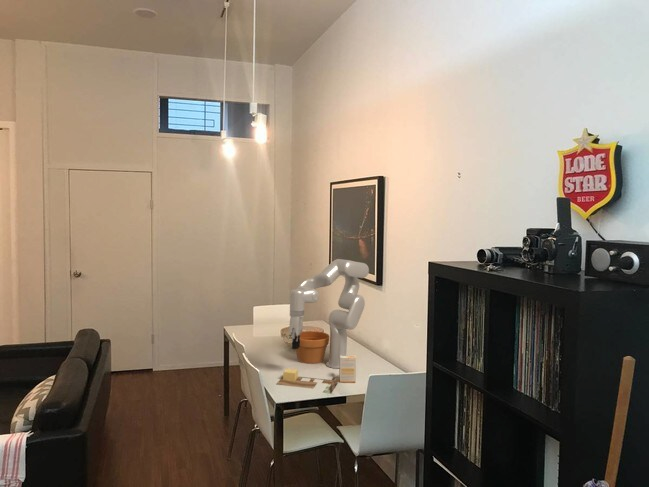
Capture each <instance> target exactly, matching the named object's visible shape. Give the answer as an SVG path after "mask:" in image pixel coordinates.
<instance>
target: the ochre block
mask: <svg viewBox="0 0 649 487" xmlns="http://www.w3.org/2000/svg"><path fill="white" fill-rule="evenodd" d="M282 373H283V374H282V377H283V380H289V381H295V380H296V379H297V378H298V377H299V369H296V368H295V369H293V368H286V369H285V370H284V371H283V372H282Z"/></svg>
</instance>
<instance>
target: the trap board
mask: <svg viewBox="0 0 649 487" xmlns="http://www.w3.org/2000/svg"><path fill="white" fill-rule="evenodd" d="M303 378H304V379H308V377H305V376H298V378H297V379H296V380H295V381H289V380H283V376H282V377H281V378H280V379H279V380H278V381H277V382H276V383H275V385H277V386H285V387H286V386H287V387H295V388H305V389H312V390H313V389H314V388H316V386H317V384H318V382H316V381H315V380H318V378H316V377H315V378H314V377H309V379H310V380H309V381H307V380H302V379H303ZM319 380H322V382H321V384H327V386H325V388H324V390H323V391H322V394H323V393H324V394H333V392H334V390H335V389H336V387H337V385H338V384H339V383H338V381H339V377H338V376H335V378H334V379H325V378H319Z"/></svg>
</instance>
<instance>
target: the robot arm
mask: <svg viewBox="0 0 649 487" xmlns="http://www.w3.org/2000/svg"><path fill="white" fill-rule="evenodd" d="M369 272H370V269H369V266H368V265H367V263H365V262H360V261H353V260H349V259H342V258H337V259H334V260H333V261H332V262H331V263H330V264H328V265H327V266H326V267H325V268H324V269H323V270H322V271H321V272H319V273H317V274H315V275H313V276H311V277H309V278H306V279H305V280H303V281H302V283H300V284H299V285H298V286H297V288H296V289H295V288H294V289H291V290H290V293H289V294H290V295H289V317H290V319H289V326H288V335H289V336H290V337H291V339H292V340H291V349H292V350H296V349H298V348H299V347H300V334H301V333H302V331H303V327H304V326H303V325H304V324H303V322H304V321H303V318H304V317H305V304H307V303H308V304H314V303H316V302H318V300H319V299H320V293H319V292H318V290H317V289H319V288H325V287H329V286H331V285H332V284H333V283H334V282H336V280H337V279H338V278H339V277H341V276H344V280H345V281H344V282H345V283H344V284H343V288H342V291H341V293H340V295H339V299H338V301H337V304H338V307H339V308H341V309H334V310H331V312H330V313H329V316H328V323H329V332H330V333H329V354H328V355H329V356H328V357H329V358H328V360H329V361H327V362H326V367H328V368H330V369H331V368H332V369H339V367H340V355H347V344H348V334H347V330H348V331H352V330H354V329H355V328H357V326H358V325H359V322H360V319H361V317H362V314H363V311H364V309H365V306H366V305H365V304H366V303H365V298H364V297H363V296H362V295H361V294H358V293H359V289H360V281H359V279H364V278H366V277H367V276H368V275H369ZM342 309H343V310H342ZM346 310H347V311H346Z"/></svg>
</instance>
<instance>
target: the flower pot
mask: <svg viewBox="0 0 649 487" xmlns="http://www.w3.org/2000/svg"><path fill="white" fill-rule="evenodd" d="M328 344H330V334H328V333H326V332H322V331H316V330H314V331H313V330H304V331H303V330H302V333H301V334H300V347H299V348H298V349H295V351H296V356H297V359H298V361H299V362H301V363H303V364H312V365H313V364H315V365H316V364H319V363H322V362H323V361H324V358H325V355H326V352H327V351H326V350H327V346H328Z"/></svg>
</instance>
